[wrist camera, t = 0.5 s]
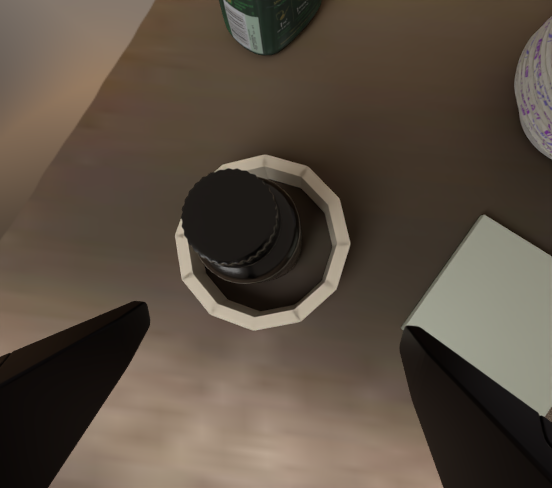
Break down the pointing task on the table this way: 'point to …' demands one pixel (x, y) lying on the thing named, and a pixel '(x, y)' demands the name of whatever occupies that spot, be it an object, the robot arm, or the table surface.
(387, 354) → the table surface
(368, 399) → the table surface
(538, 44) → the paper bowls
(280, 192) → the supplement bottle
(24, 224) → the table surface
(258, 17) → the coffee jar
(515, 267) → the mat
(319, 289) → the ring holder
